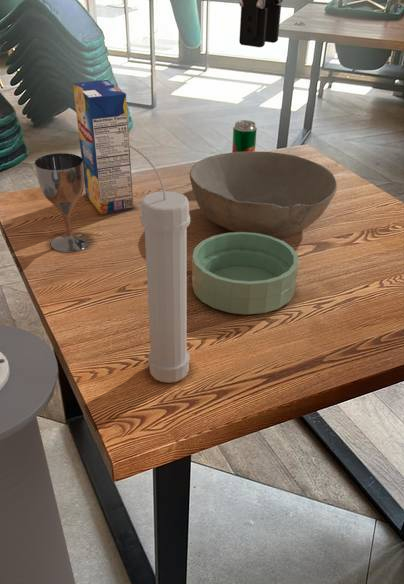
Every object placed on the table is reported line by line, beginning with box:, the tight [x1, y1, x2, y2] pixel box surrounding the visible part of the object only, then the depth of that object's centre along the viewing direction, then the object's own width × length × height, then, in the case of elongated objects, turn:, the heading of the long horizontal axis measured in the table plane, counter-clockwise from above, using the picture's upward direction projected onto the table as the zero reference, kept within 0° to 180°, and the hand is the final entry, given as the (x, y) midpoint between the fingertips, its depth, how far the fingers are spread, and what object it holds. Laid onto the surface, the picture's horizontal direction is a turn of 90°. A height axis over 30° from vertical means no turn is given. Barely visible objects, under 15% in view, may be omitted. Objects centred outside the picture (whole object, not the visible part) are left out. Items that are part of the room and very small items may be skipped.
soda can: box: [231, 119, 258, 153], centre depth 127 cm, size 5×5×12 cm
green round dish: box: [191, 231, 299, 315], centre depth 92 cm, size 17×17×6 cm
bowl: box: [189, 150, 338, 238], centre depth 110 cm, size 28×28×10 cm
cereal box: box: [72, 79, 134, 215], centre depth 113 cm, size 7×11×22 cm, turn 25°
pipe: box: [129, 144, 191, 384], centre depth 68 cm, size 6×6×30 cm
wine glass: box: [34, 152, 91, 253], centre depth 100 cm, size 8×8×15 cm
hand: (258, 41), depth 70 cm, fingers closed
